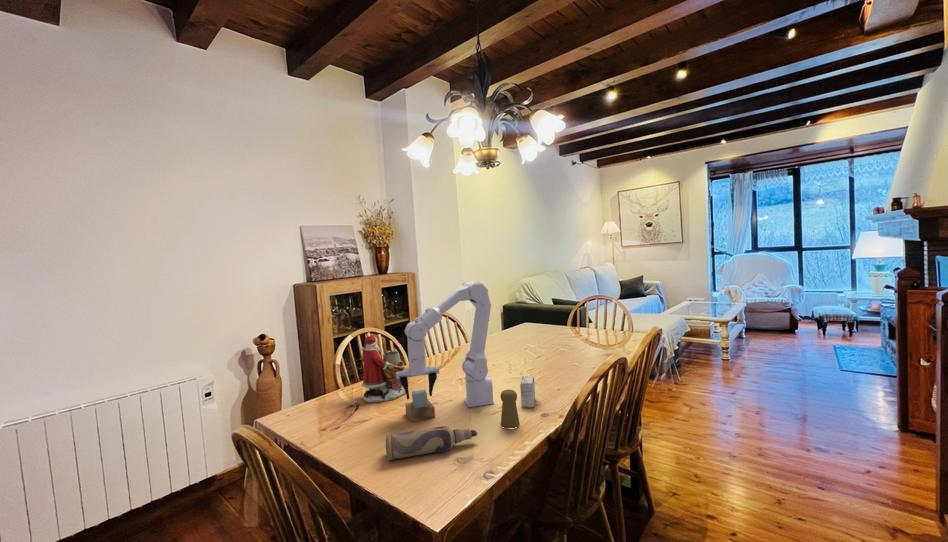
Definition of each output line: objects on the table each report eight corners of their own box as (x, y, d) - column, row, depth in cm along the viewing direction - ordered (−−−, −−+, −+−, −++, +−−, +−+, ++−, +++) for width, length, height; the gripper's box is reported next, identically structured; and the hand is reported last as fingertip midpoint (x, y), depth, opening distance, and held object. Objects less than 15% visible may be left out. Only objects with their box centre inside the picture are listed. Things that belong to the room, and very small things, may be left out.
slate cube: (425, 401, 137) (424, 389, 137) (427, 406, 133) (426, 393, 132) (412, 403, 136) (411, 391, 135) (414, 408, 131) (413, 395, 131)
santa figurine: (409, 388, 162) (404, 328, 161) (404, 401, 148) (398, 336, 147) (368, 391, 162) (362, 331, 160) (359, 405, 148) (353, 339, 146)
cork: (521, 421, 125) (520, 388, 125) (517, 430, 120) (515, 395, 119) (503, 420, 127) (501, 386, 127) (498, 428, 122) (496, 393, 121)
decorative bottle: (387, 467, 103) (385, 442, 103) (386, 453, 111) (384, 430, 110) (481, 449, 110) (480, 426, 109) (474, 437, 117) (473, 415, 117)
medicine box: (534, 408, 136) (533, 383, 135) (521, 407, 137) (520, 383, 136) (535, 399, 143) (534, 376, 143) (523, 399, 144) (521, 375, 144)
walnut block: (428, 410, 140) (427, 399, 139) (435, 418, 132) (434, 406, 132) (406, 414, 136) (405, 403, 136) (411, 423, 129) (411, 411, 129)
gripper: (395, 363, 128) (398, 404, 128) (440, 357, 131) (442, 397, 132) (394, 357, 134) (397, 396, 135) (436, 352, 138) (438, 390, 139)
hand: (419, 396), depth 134 cm, fingers open, 7 cm apart
